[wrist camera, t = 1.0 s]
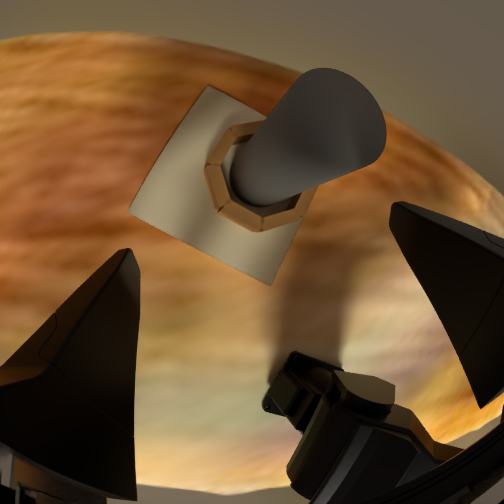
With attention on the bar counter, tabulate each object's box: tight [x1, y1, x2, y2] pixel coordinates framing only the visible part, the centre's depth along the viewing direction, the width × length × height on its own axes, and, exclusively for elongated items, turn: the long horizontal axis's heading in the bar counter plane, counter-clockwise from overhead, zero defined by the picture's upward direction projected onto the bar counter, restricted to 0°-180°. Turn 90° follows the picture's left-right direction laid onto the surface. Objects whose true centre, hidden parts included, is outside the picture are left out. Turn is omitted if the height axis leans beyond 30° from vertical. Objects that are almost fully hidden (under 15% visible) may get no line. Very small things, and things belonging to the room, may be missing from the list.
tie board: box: [128, 86, 318, 286], centre depth 23 cm, size 13×13×2 cm
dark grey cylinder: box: [229, 68, 386, 208], centre depth 18 cm, size 5×5×13 cm
